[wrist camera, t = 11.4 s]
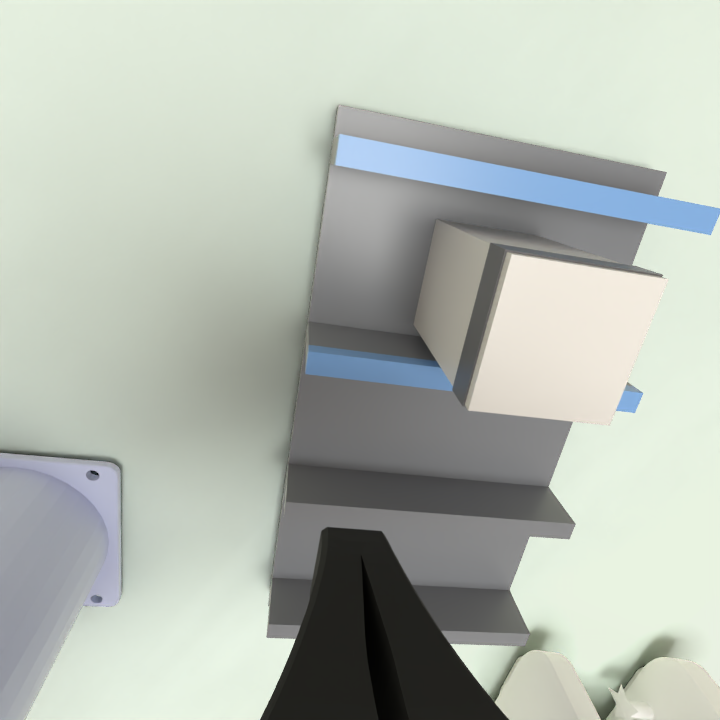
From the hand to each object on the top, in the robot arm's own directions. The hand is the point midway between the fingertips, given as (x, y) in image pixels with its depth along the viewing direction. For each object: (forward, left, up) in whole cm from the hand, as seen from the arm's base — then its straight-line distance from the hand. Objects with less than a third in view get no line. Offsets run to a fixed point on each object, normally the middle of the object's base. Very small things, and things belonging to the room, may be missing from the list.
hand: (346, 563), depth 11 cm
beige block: (+5, +5, -9) cm, 12 cm away
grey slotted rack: (+5, -1, -10) cm, 12 cm away
